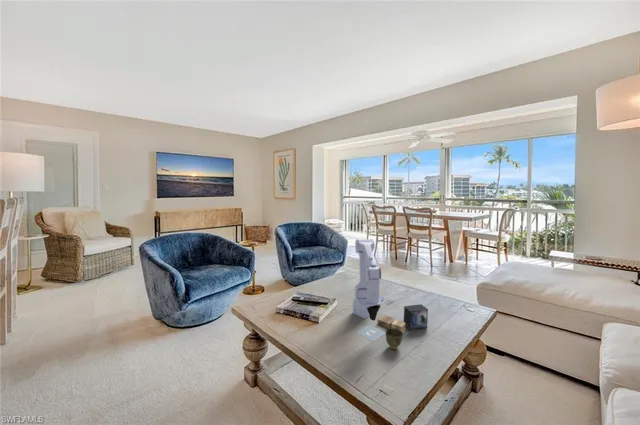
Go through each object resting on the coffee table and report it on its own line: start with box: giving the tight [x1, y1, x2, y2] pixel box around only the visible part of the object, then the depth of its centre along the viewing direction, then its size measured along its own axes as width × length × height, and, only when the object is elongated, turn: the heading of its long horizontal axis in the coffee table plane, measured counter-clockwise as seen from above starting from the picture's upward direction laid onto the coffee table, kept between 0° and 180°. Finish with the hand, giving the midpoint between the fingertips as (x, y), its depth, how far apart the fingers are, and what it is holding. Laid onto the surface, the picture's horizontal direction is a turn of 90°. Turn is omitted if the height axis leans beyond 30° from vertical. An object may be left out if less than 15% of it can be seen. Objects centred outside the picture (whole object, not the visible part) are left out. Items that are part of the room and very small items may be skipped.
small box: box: [403, 303, 429, 331], centre depth 144 cm, size 11×6×10 cm, turn 104°
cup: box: [384, 327, 403, 351], centre depth 125 cm, size 8×7×8 cm
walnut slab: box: [377, 314, 397, 329], centre depth 147 cm, size 7×7×3 cm
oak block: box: [391, 319, 406, 335], centre depth 138 cm, size 5×5×5 cm
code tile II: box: [402, 330, 410, 339], centre depth 138 cm, size 8×8×1 cm
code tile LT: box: [355, 324, 386, 342], centre depth 138 cm, size 11×11×1 cm
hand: (372, 319), depth 132 cm, fingers closed
